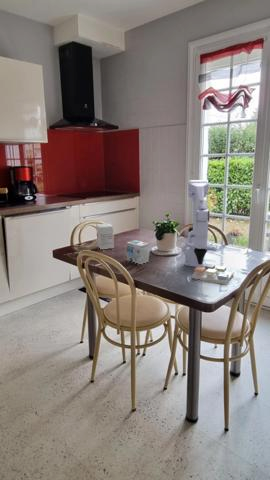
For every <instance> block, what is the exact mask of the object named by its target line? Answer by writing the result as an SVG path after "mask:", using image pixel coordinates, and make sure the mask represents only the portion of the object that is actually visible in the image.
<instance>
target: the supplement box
mask: <svg viewBox="0 0 270 480" xmlns="http://www.w3.org/2000/svg"><path fill="white" fill-rule="evenodd" d="M114 237H115V236H114V226H113V225H112V223H109V222H108V223H98V224H96V241H97V242H96V243H97V246H96V247H97V248H98V247H99V248H100V249H108V248H114V249H115V241H114V240H115V239H114ZM99 248H98V249H99Z"/></svg>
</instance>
